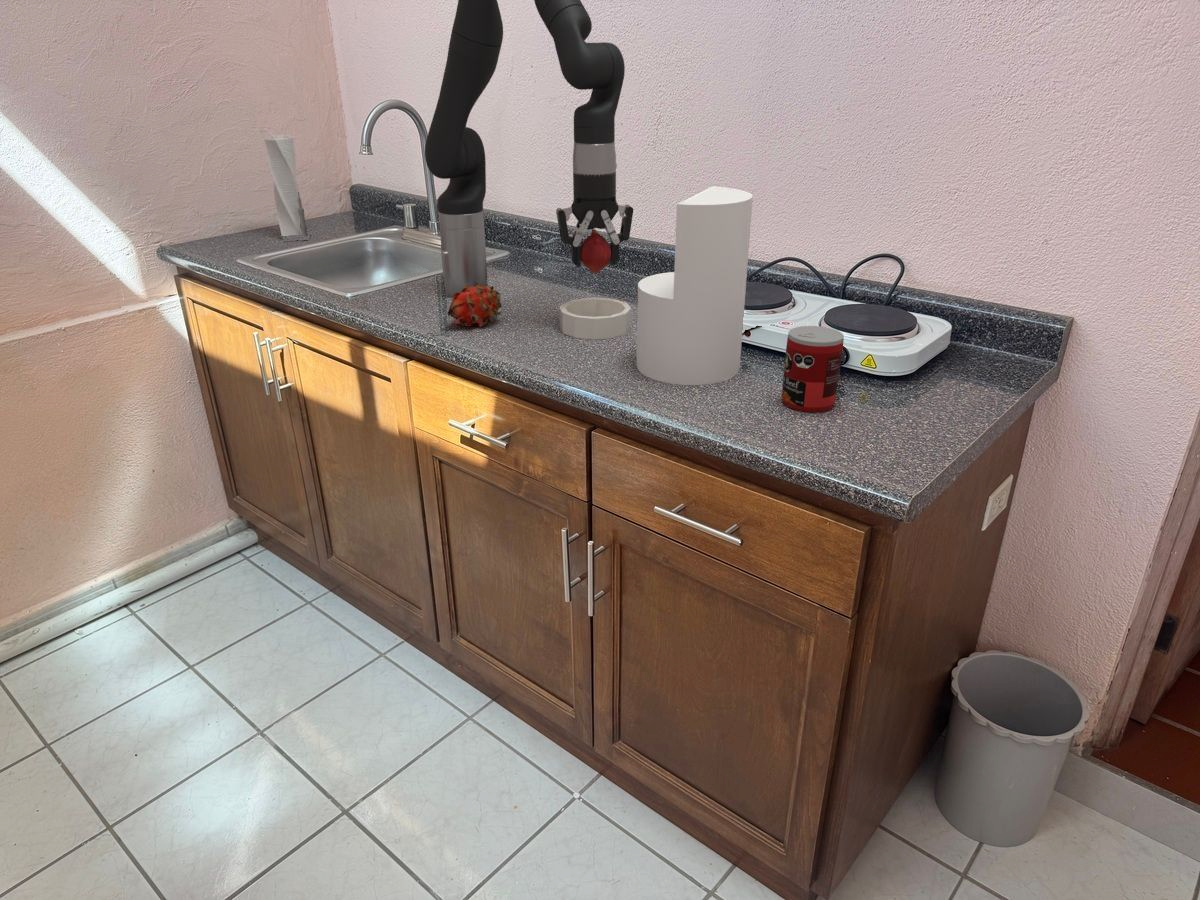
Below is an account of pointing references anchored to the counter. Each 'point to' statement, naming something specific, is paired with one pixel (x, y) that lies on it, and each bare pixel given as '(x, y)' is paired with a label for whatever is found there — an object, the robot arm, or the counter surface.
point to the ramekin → (595, 318)
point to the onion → (595, 252)
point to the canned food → (812, 368)
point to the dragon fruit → (475, 305)
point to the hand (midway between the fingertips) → (595, 264)
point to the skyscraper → (285, 184)
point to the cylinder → (698, 294)
